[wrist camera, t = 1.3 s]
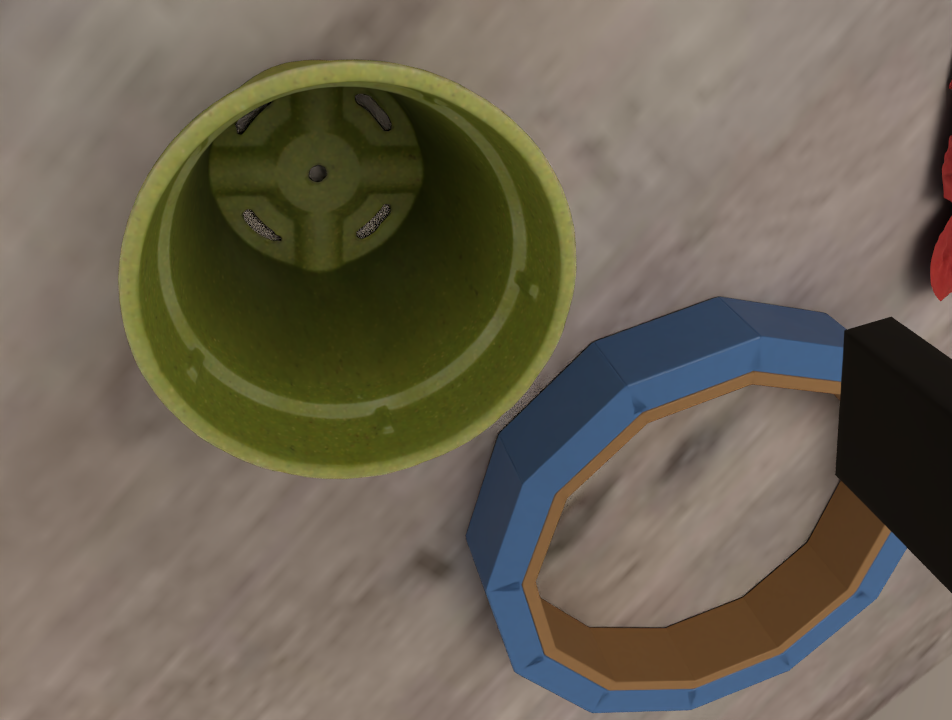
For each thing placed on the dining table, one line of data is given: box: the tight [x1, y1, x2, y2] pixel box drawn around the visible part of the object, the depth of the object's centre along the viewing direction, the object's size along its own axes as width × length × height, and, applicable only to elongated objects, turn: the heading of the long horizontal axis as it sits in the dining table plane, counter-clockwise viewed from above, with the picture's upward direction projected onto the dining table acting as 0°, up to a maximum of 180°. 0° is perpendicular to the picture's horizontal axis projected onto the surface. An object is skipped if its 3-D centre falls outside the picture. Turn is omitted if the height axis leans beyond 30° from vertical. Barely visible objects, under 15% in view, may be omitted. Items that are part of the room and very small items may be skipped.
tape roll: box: [466, 297, 907, 713], centre depth 35 cm, size 18×18×3 cm
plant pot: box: [118, 60, 576, 479], centre depth 22 cm, size 9×9×9 cm
